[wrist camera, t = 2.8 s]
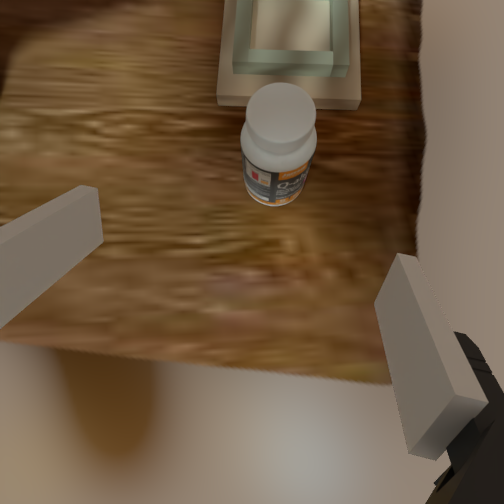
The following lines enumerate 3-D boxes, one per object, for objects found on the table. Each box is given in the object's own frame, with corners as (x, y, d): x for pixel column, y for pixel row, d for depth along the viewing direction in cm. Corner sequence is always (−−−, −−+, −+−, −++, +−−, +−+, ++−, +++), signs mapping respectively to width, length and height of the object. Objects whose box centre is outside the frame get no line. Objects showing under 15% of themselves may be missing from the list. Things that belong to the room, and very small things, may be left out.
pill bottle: (285, 218, 30) (298, 165, 20) (232, 189, 31) (221, 125, 21) (314, 170, 31) (340, 98, 21) (263, 143, 32) (265, 62, 22)
